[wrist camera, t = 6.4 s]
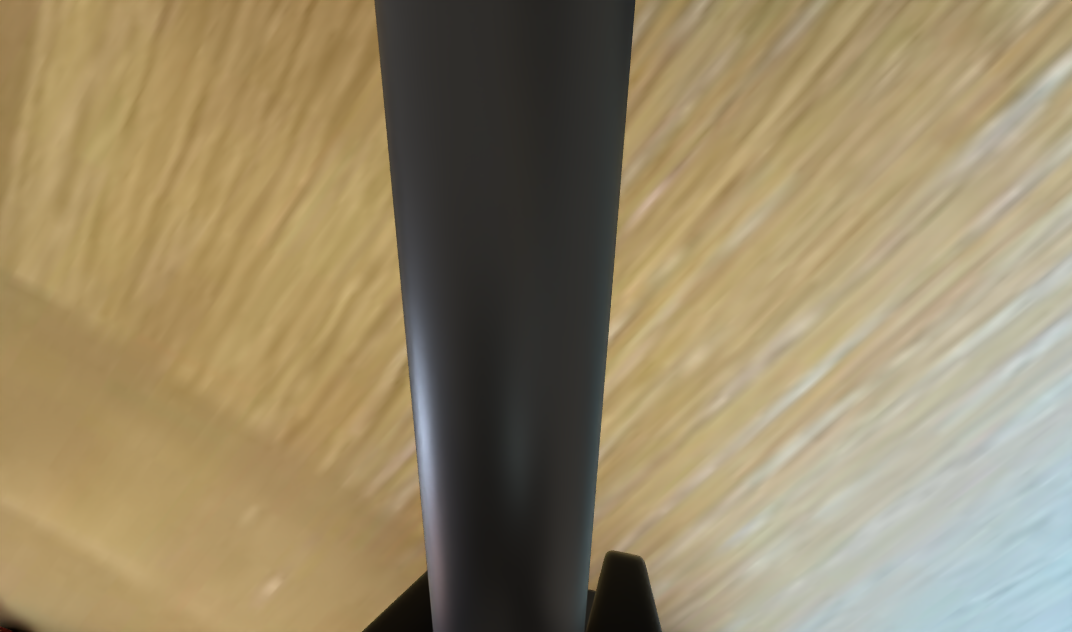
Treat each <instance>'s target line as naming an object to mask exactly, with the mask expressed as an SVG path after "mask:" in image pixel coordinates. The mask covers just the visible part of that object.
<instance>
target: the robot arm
mask: <svg viewBox="0 0 1072 632" xmlns="http://www.w3.org/2000/svg"><path fill="white" fill-rule="evenodd" d="M362 632H433V624H432V613H431V603H430V592H429V581H428V570H427V571H426V572H425V573H424V574H423V575H422V576H421V577H420V578H419V579H418V580H417V581H416V582H414V583H413V584H412V585H411V586H410V587H409V588H408V589H407V590H406V591H405V592H404V593H403V594H402V595H401V596H400V597H398V598H397V599H396V600H395V601H394V602H393V603H392V604H391V605H390V606H389V607H388V608H387V609H386V610H385V611H384V612H382V613H381V614H380V615H379V616H378V617H377V618H376V619H375V620H374V621H373V622H372V623H371V624H370V625H369V626H368V627H366V628H365V629H364V630H363V631H362ZM586 632H662V630H661V626H660V622H659V618H658V614H657V610H656V606H655V602H654V598H653V593H652V589H651V585H650V581H649V577H648V573H647V569H646V565H645V562H644V560H643V559H642V558H641V557H640V556H637V555H633V554H628V553H623V552H618V551H609V552H607V553H606V555H605V558H604V561H603V565H602V569H601V573H600V577H599V581H598V585H597V589H596V593H595V597H594V601H593V605H592V609H591V613H590V617H589V621H588V625H587V629H586Z"/></svg>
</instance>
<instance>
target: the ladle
mask: <svg viewBox="0 0 1072 632" xmlns="http://www.w3.org/2000/svg"><path fill="white" fill-rule="evenodd" d="M634 10H635V0H375V11H376V22H377V32H378V43H379V54H380V65H381V75H382V86H383V97H384V108H385V118H386V129H387V140H388V151H389V162H390V172H391V183H392V194H393V205H394V215H395V226H396V237H397V248H398V258H399V269H400V280H401V291H402V301H403V312H404V323H405V334H406V344H407V355H408V366H409V377H410V387H411V398H412V409H413V420H414V431H415V441H416V452H417V463H418V474H419V484H420V495H421V506H422V517H423V527H424V538H425V549H426V560H427V570H428V581H429V592H430V603H431V613H432V624H433V632H586V629H587V625H588V621H589V617H590V613H591V609H592V605H593V601H594V597H595V593H596V591H593V590H588V580H589V568H590V556H591V543H592V531H593V518H594V506H595V494H596V481H597V469H598V456H599V444H600V432H601V419H602V407H603V394H604V382H605V370H606V357H607V345H608V332H609V320H610V308H611V295H612V283H613V271H614V258H615V246H616V233H617V221H618V209H619V196H620V184H621V171H622V159H623V147H624V134H625V122H626V109H627V97H628V85H629V72H630V60H631V47H632V35H633V23H634Z"/></svg>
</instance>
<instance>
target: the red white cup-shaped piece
mask: <svg viewBox="0 0 1072 632" xmlns="http://www.w3.org/2000/svg"><path fill="white" fill-rule="evenodd" d="M0 632H14V631H11V630H9V629H6V628H3V627H0Z"/></svg>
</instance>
